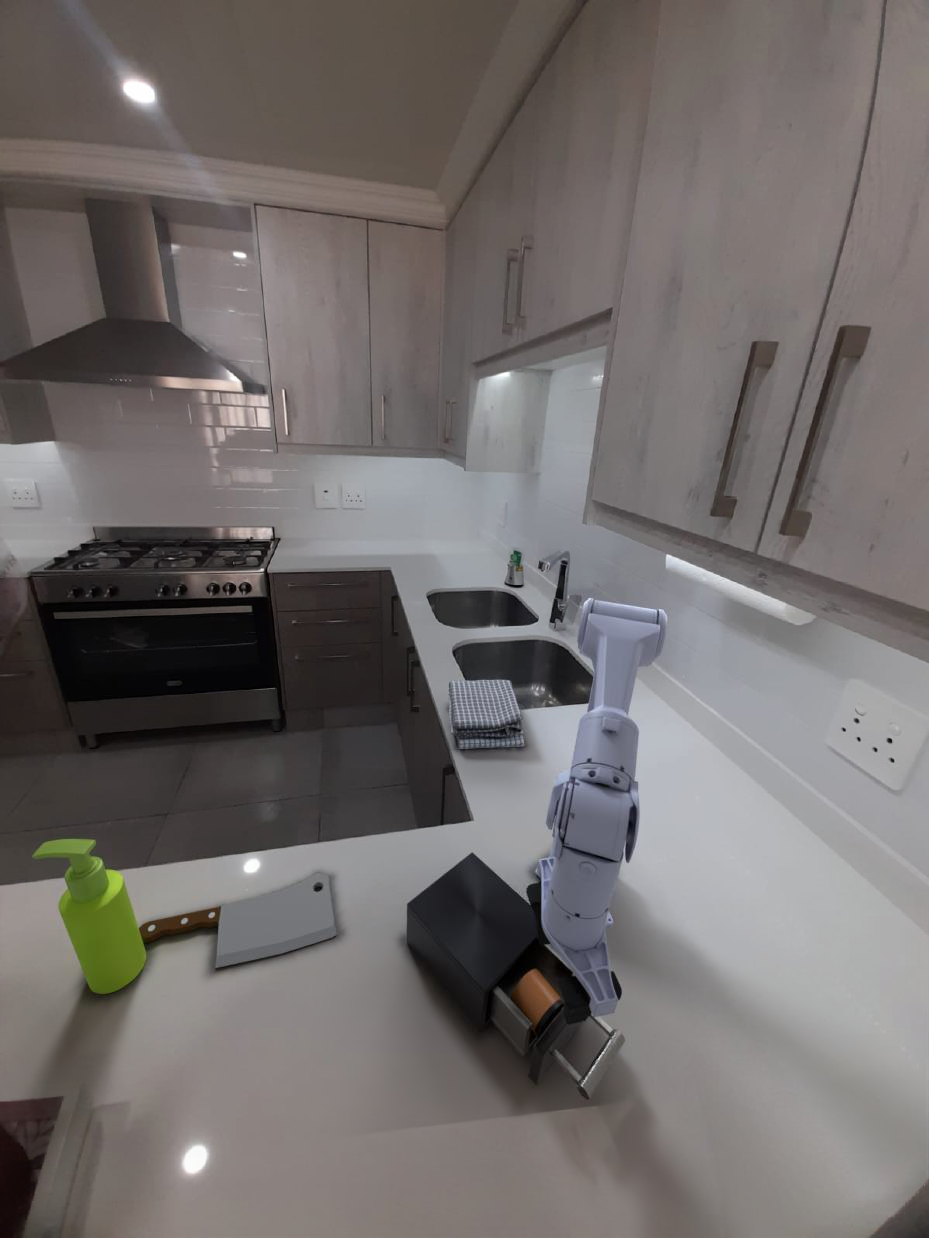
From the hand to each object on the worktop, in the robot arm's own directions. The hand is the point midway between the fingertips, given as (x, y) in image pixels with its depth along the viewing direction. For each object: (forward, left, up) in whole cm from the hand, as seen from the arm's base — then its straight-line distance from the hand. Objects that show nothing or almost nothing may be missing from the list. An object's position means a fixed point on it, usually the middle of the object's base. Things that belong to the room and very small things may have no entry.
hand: (560, 977), depth 51 cm
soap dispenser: (+34, -40, -10) cm, 54 cm away
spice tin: (0, -4, -6) cm, 7 cm away
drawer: (0, -2, -9) cm, 10 cm away
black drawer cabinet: (0, -12, -10) cm, 16 cm away
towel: (-36, -45, -11) cm, 59 cm away
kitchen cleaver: (+21, -35, -11) cm, 42 cm away
